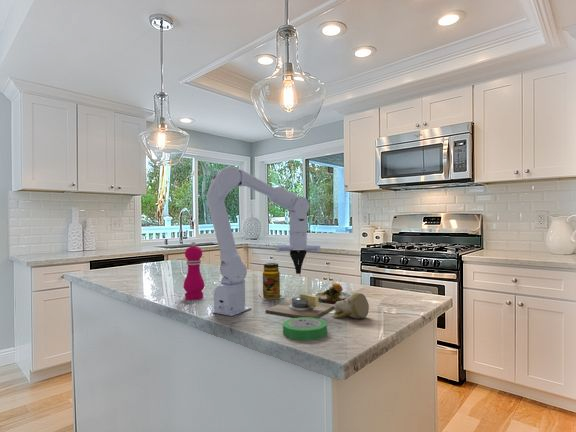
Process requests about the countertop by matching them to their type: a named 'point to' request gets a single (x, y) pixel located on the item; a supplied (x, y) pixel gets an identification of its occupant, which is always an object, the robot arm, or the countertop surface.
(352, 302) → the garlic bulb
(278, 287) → the condiment
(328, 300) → the plate of food
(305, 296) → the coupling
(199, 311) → the countertop surface
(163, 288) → the countertop surface
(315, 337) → the tape roll
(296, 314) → the post base
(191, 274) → the pepper mill
